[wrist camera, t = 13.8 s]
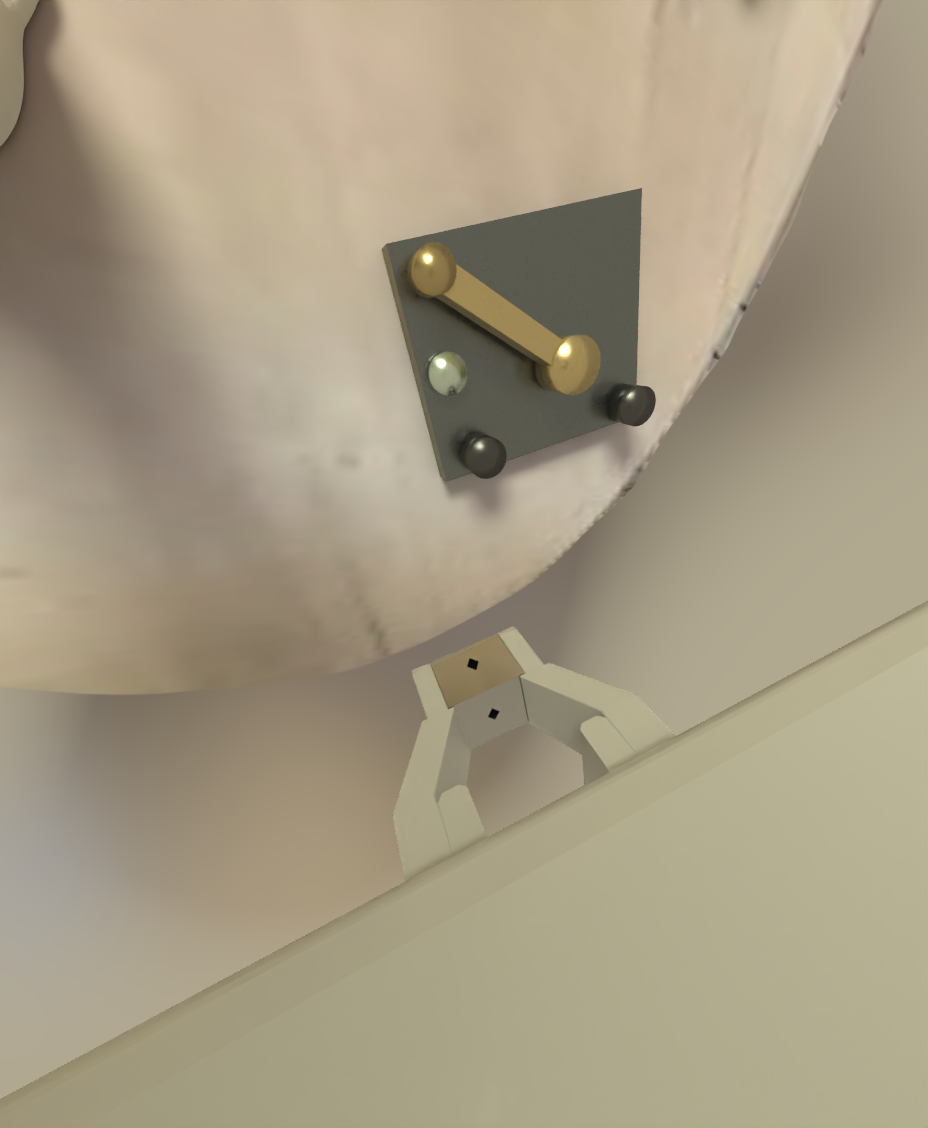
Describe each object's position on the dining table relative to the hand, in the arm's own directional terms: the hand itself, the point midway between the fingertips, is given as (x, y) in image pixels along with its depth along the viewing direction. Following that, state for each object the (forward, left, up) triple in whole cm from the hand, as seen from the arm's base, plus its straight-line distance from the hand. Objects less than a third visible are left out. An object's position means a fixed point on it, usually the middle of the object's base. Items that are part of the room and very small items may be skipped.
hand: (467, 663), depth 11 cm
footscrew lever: (-5, +17, -31) cm, 35 cm away
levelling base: (-3, +20, -33) cm, 39 cm away
